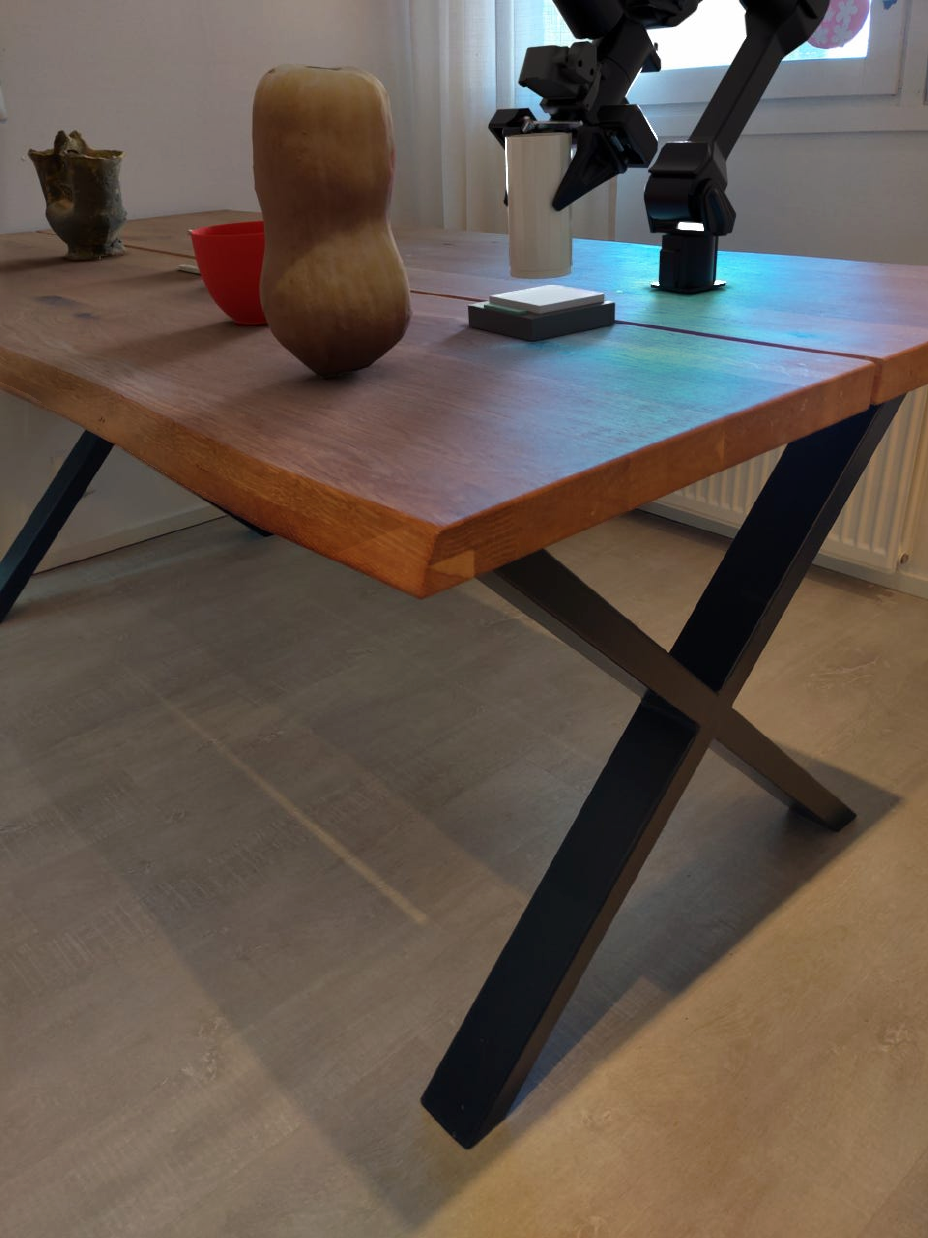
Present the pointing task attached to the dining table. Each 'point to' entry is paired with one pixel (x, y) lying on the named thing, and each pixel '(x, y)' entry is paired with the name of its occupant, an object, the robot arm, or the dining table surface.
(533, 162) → the tumbler
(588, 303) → the scale
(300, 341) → the butternut squash
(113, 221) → the pottery vessel
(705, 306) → the dining table surface
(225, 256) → the ceramic cup
